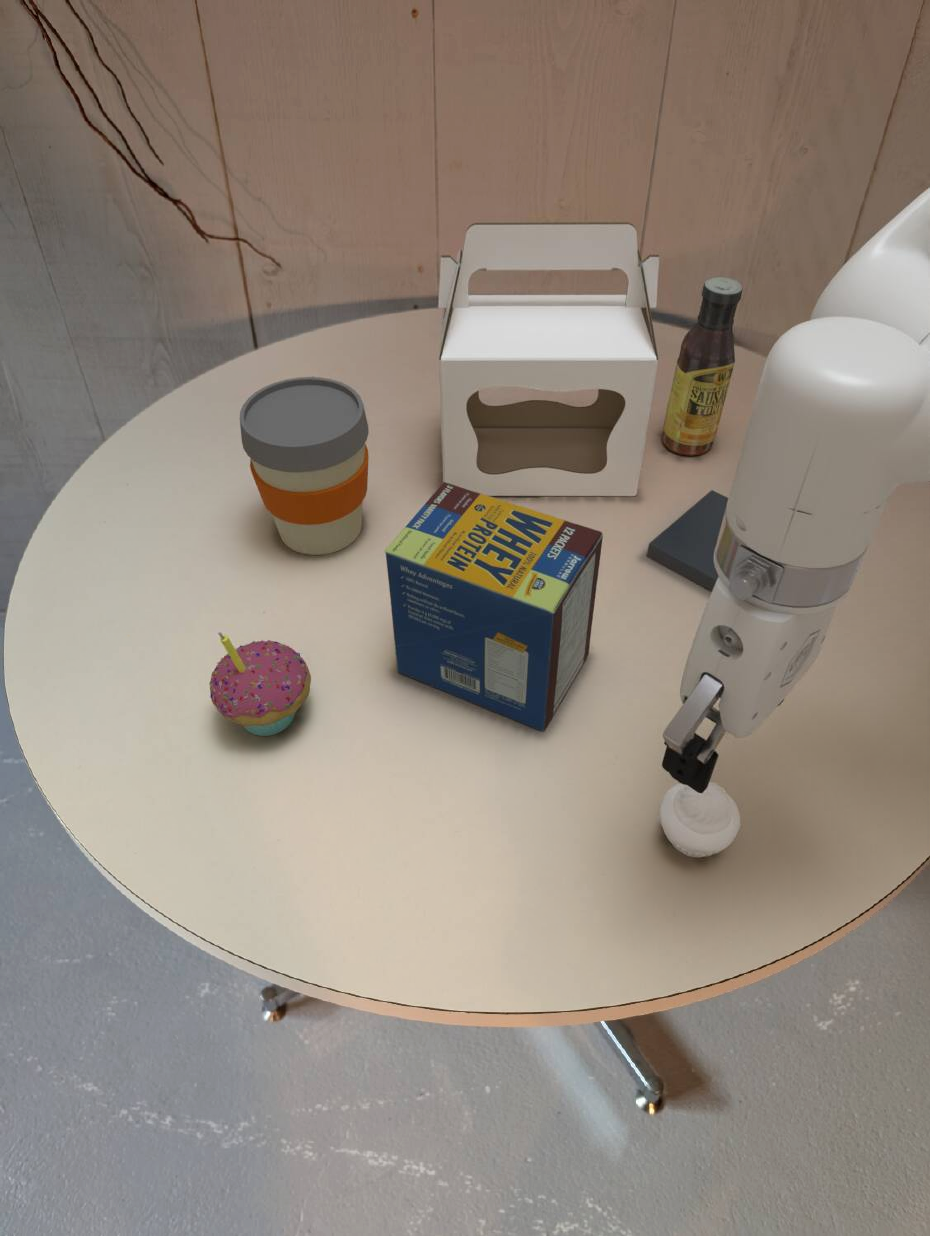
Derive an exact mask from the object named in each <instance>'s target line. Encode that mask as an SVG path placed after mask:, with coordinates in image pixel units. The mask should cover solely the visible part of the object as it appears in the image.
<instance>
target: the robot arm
mask: <svg viewBox="0 0 930 1236" xmlns="http://www.w3.org/2000/svg"><path fill="white" fill-rule="evenodd" d="M757 387H758V388H757V390H756V395H755V399H754V402H753V406H752V410H751V413H750V417H749V420H748V424H747V429H746V432H745V436H744V440H743V443H742V447H741V450H740V455H739V458H738V462H737V464H736V465H737V466H736V469H735V473H734V477H733V480H732V484H731V488H730V492H729V495H728V497H727V498H728V502H727V506H726V509H725V513H724V517H723V521H722V524H721V528H720V532H719V536H718V539H717V543H716V547H715V550H714V565H715V569H716V571H717V573H718V575H719V577H718V579H717V581H716V583H715V586H714V588H713V591H712V592H710V595H709V597H708V601H707V602H706V604H705V608H704V611H703V613H702V616H701V618H700V620H699V623H698V627H697V628H696V632H695V635H694V638H693V640H692V644H691V647H690V650H689V653H688V655H687V659H686V663H685V666H684V669H683V673H682V677H681V681H680V687H679V697H680V701H681V703H682V705H681V707H680V708H679V709H678V711H677V712H676V713H675V715H674V716H673V718H672V719H671V720H670V722H669V723H668V724H667V726H666V728H665V729H664V730H663V732H662V738H663V740H664V742H663V745H664V746H666V747H665V751H664V754H663V758H662V762H661V767H662V769H663V770H664V771H665V772H667V773H669V775H670V776H671V778H673V779H674V780H675V781H676V782H678V783H681V784H684V785H688V786H689V787H690V788H692V789H693V790H695V791H696V792H698V793H703V792H704V791H705V790H706V789H707V787H708V784H709V782H710V783H711V779H712V776H713V773H714V770H715V767H716V764H717V761H718V759H719V755H720V754H718V752H717V751H716V750H717V748H718V747H719V744H720V742H721V741H722V740H723V738H724V736H725V734H726V733H728V734H729V735H730V736H733V737H734V738H736V739H743V738H746V737H748V736H751V735H752V734H753V733H754V732H756V730H758V729H759V727H761V725H762V724H763V723H764V722H765V721H766V720H767V718H769V716H770V715H771V714H772V713H773V712H774V711H775V710H776V708H777V707H779V706H781V705H782V703H783V702H784V701H785V699H786V697H787V696H788V695H789V694H790V693H791V692H792V690H793V689H794V688H795V687H796V686H797V684H799V682H800V681H801V680H802V679H803V677H805V675H806V674H807V673H808V671H809V670H810V669H811V667H812V666H813V665H814V663H815V662H816V660H817V658H818V656H819V655H820V652H821V650H822V647H823V645H824V642H825V639H826V636H827V633H828V631H829V627H830V625H831V622H832V619H833V616H834V615H835V612H836V608H837V605H838V604H840V603H842V601H843V600H845V598H846V597H847V595H848V594H849V592H850V590H851V587H852V586H853V582H854V579H855V578H856V576H857V573H858V571H859V568H860V566H861V564H862V562H863V558H864V557H865V554H866V552H867V550H868V548H869V545H870V543H871V541H872V538H873V536H874V533H875V531H876V529H877V527H878V524H879V522H880V520H881V517H882V515H883V512H884V510H885V508H886V506H887V504H888V501H889V499H890V496H891V495H892V492H893V491H894V489H895V488H896V487H898V486H901V485H902V484H911V483H927V482H928V483H929V482H930V187H928V188H926V189H925V190H924V191H923V192H921V194H920V195H918V196H917V197H916V198H915V199H914V200H912V201H911V202H910V203H909V204H907V206H905V207H904V208H903V209H902V210H901V211H900V212H899V213H898V214H896V215H894V217H893V218H892V219H891V220H889V222H887V223H886V224H885V225H884V226H883V227H882V228H880V230H879V231H877V232H876V233H875V234H874V235H873V236H872V237H870V239H869V240H868V241H866V242H865V243H864V245H862V246H861V247H860V249H858V250H857V251H856V252H855V253H854V254H853V255H852V256H851V257H850V258H849V259H848V260H847V261H846V262H845V264H843V265H842V267H841V268H840V269H839V270H838V271H837V272H836V274H835V275H834V276H833V277H832V279H831V280H830V281H829V282H828V284H827V285H826V287H825V288H824V290H823V291H822V293H821V294H820V296H819V297H818V299H817V302H816V304H815V305H814V308H813V309H812V312H811V315H810V318H809V320H806V321H804V322H800V323H798V324H795V325H794V326H792V327H790V329H788V330H787V331H786V332H784V333H783V334H781V336H779V338H778V339H777V340H776V341H775V343H774V344H773V346H772V348H771V349H770V351H769V352H768V355H767V357H766V360H765V362H764V365H763V369H762V372H761V377H760V380H759V384H758V386H757ZM719 699H720V700H719ZM718 700H719V702H718ZM717 702H718V705H717V706H718V708H716V707H715V705H716V703H717ZM705 718H706V719H708V720H710V721H711V722H712V723H714V724H715V725H714V727H713V728H712V729H711V732H710V733H709V734H708V737H707V738H706V739H705V738H704V737H702V736H701V735H699V734H698V733H696V732H697V730H698V728H699V727H700V725H701V724H702V723H703V721H704V720H705Z"/></svg>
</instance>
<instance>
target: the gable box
mask: <svg viewBox="0 0 930 1236" xmlns="http://www.w3.org/2000/svg"><path fill="white" fill-rule="evenodd" d="M659 266H660V255H659V254H649V255H647V256H646V257H645V258H644V259H643V260H642V255H641V251H640V249H638V235H637V229H636V227H635V226H634V224H632V223H631V222H628V221H620V222H619V221H611V222H609V221H608V222H606V221H605V222H604V221H603V222H602V221H601V222H599V221H598V222H596V221H593V222H592V221H590V222H589V221H588V222H585V221H583V222H574V221H573V222H572V221H571V222H568V221H567V222H565V221H564V222H562V221H561V222H559V221H558V222H473V223H471V224H470V225H469V226H468V227H467V228H466V231H465V235H464V242H463V249H459V250H458V252H457V255H456V258H455V259H454V258H453V257H452V256H451V255H447V254H441V255H440V267H439V287H438V303H437V308H438V309H442V310H441V311H442V312H441V323H440V324H441V325H440V336H439V350H438V351H439V352H438V353H439V354H438V375H439V377H438V378H439V402H440V403H439V405H440V429H441V430H440V431H441V456H442V484H443V483H444V482H446V483H449V484H452V485H455V486H458V487H461V488H464V489H467V490H470V491H473V492H477V493H480V494H484V495H487V496H490V497H635V496H637V495H638V489H639V483H640V476H641V471H642V470H641V469H642V464H643V457H644V453H645V445H646V438H647V434H648V433H647V432H648V427H649V421H650V413H651V407H652V402H653V395H654V389H655V382H656V377H657V371H658V364H659V355H658V348H657V343H656V336H655V331H654V330H655V329H654V324H653V318H652V313H651V308H652V309H655V308H657V301H658V300H657V298H658V284H659V283H658V281H659ZM620 270H621V271H622V272H624V274H625V275H626V278H627V287H626V294H469V281H470V278H471V277H472V275H473V274H474V273H475V272H476V271H481V272H487V271H611V272H617V271H620ZM502 387H504V388H505V387H514V388H523V389H528V390H529V389H530V390H537V391H543V392H552V393H553V392H554V393H568V392H578V391H586V390H598V391H597V397H596V400H595V401H594V402H593V403H592V404H589V405H586V406H573V405H569V404H566V403H562V402H559V401H554V400H547V399H546V400H545V399H530V400H524V401H519V402H518V401H517V402H513V403H509V404H502V405H489V404H485V403H483V402H482V401H481V398H480V395H479V394H480V393H479V392H480V391H481V390H484V389H488V388H502Z"/></svg>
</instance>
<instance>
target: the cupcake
mask: <svg viewBox="0 0 930 1236" xmlns="http://www.w3.org/2000/svg"><path fill="white" fill-rule="evenodd" d="M217 634H218V635H219V636H220V640H219V641H220V642H221V644H222V645H223V648H224V649H225V651H226V653H227V654H225V655H224V656H223V657H221V658H220V660H219V661H218V662H217V663H216V666H215V668H214V670H213V671H212V672H211V675H210V680H209V684H208V686H209V692H210V696H209V697H210V699H211V702H212V704H213V706H214V707H215V709H216V710H217V712H218V713H220V715H221V716H222V717H223V718H225V719H227V720H230V721H232V722H234V723H236V724H239V725H241V726H243V728H244V729H245V730H246V731H247V732H249V733H250V734H253V735H256V736H259V737H260V736H261V737H267V736H268V737H269V736H273V735H276V734H279V733H281V732H282V731H284V730H285V729H287V728H288V727H289V726H290V725H291V724H292V723H293V720H294V717H295V715H296V712H297V711H298V710H299V708H301V706H302V705H303V704H304V703H305V701H306V700H307V699H308V697H309V695H310V692H311V682H312V676H311V675H312V674H311V672H310V669H309V666H308V664H307V663H306V661H305V659H304V658H303V657H302V656H301V653H300V652H297V651H296V650H295V649H293V648H292V647H290V646H289V645H287V644H284V643H281V642H279V641H274V640H269V639H267V640H263V639H261V640H260V641H259V640H257V641H255V640H253V641H252V642H250V643H247V644H245V645H239V647H236V648H235V647H234V646H235V645H233V643H232V641H231V639H230V638H229V636H228V635H226V634H225V635H223V634H222V632H220V631H218V632H217Z"/></svg>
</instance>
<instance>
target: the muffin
mask: <svg viewBox="0 0 930 1236" xmlns="http://www.w3.org/2000/svg"><path fill="white" fill-rule="evenodd" d="M737 806H738V805H737V804H736V802H735V801H734V799H733V798H732V797H731V796H730V795H729V794H728V793H727V792H726V791H725V789H724V788H723V787H722V786H719V784H718V783H717V782H714V781H713V782H711V781H710V782H709V784H708V787H707V789H706V790H705V791H704V792H703V793H698V792H696V791H695V790H693V789H692V788H690V787H689V786H688V785H684V784H681V783H680V782H678V783H676V784H674V785H673V786H672V787H670V788H669V789H668V790H667V791H666V792H665V794H664V795H663V797H662V799H661V802H660V804H659V809H658V816H659V822H660V825H661V828H662V829H663V834H664V835H665V836H666V838H667V840H668V841H669V842H670V843H671V844H672V846H673V848H675V850H677V851H678V852H679V853H681V854H683V855H684V856H687V857H691V858H703V857H704V858H705V857H711V856H712V855H715V854H720V852H722V851H724V850H725V849H727V848H728V847H729V846H730V845H732V843H733V842H734V841H735V840H736V838H737V836H738V834H739V831H740V828H741V815H740V811H739V808H738V807H737Z"/></svg>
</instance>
